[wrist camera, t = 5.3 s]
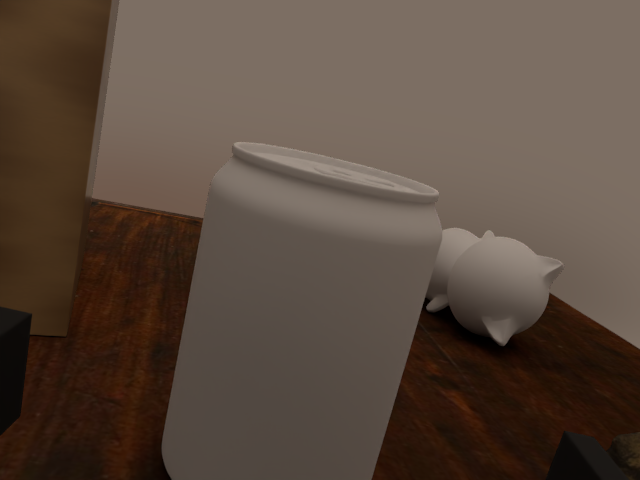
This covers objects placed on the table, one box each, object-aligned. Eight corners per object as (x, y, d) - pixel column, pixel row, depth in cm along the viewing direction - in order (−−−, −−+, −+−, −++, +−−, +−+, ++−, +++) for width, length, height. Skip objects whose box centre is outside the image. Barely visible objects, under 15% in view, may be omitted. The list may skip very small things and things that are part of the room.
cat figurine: (436, 191, 47) (551, 226, 37) (490, 260, 52) (602, 307, 42) (373, 268, 46) (473, 326, 36) (435, 330, 51) (536, 395, 41)
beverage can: (215, 387, 26) (266, 139, 23) (378, 446, 24) (454, 187, 21) (111, 493, 18) (171, 136, 15) (342, 588, 16) (455, 211, 14)
